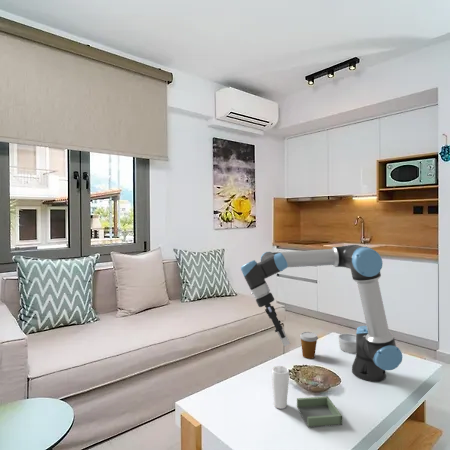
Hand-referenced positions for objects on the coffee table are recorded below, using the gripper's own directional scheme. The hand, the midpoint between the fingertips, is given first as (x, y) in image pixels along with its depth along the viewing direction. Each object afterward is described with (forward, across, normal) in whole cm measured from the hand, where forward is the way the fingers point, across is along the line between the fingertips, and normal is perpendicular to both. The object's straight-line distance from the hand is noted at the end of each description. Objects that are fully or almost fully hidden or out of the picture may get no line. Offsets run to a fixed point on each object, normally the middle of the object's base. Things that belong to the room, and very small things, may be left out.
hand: (285, 341), depth 141 cm
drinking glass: (+21, +2, -14) cm, 25 cm away
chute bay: (+28, +7, -1) cm, 29 cm away
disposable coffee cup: (+22, -45, +8) cm, 51 cm away
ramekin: (+32, -56, +31) cm, 71 cm away
